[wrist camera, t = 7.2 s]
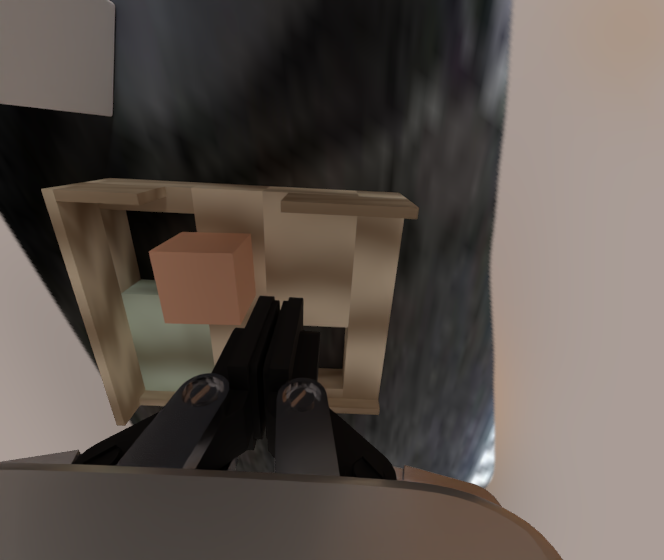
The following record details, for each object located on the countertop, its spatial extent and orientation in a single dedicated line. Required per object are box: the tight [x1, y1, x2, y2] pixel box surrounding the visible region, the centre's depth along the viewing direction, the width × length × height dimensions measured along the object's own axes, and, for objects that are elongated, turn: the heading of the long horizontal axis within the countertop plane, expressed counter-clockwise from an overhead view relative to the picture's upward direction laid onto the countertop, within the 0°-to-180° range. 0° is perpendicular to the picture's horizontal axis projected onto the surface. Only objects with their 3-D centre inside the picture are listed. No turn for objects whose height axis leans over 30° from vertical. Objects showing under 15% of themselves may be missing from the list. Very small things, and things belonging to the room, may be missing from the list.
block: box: [149, 232, 256, 325], centre depth 19 cm, size 4×4×4 cm
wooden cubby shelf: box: [41, 178, 419, 426], centre depth 22 cm, size 17×20×6 cm
